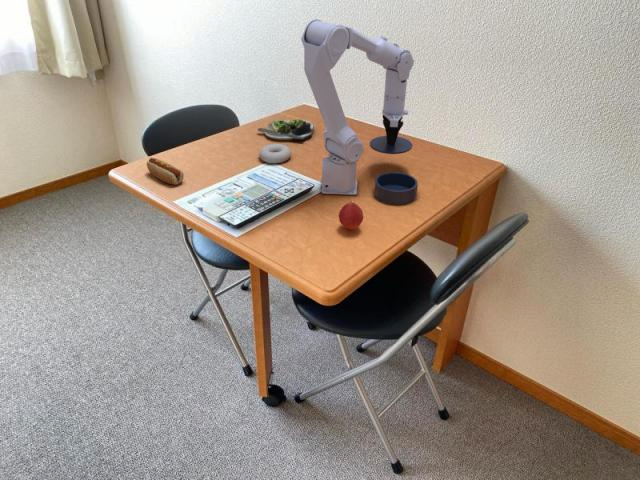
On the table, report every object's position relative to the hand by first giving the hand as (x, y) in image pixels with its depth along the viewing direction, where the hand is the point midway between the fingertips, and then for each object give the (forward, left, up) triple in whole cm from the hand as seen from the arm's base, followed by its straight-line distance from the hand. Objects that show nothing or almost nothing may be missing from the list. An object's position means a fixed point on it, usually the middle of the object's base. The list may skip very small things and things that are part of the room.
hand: (390, 142), depth 137 cm
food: (-64, -11, -9) cm, 66 cm away
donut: (-35, +6, -9) cm, 37 cm away
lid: (0, 0, -1) cm, 1 cm away
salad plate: (-33, +27, -9) cm, 44 cm away
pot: (+1, -14, -9) cm, 17 cm away
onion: (-10, -33, -9) cm, 36 cm away
